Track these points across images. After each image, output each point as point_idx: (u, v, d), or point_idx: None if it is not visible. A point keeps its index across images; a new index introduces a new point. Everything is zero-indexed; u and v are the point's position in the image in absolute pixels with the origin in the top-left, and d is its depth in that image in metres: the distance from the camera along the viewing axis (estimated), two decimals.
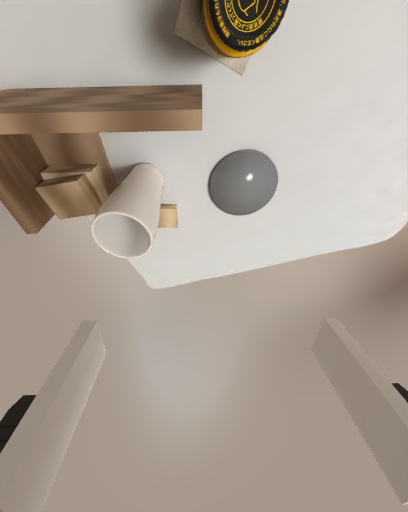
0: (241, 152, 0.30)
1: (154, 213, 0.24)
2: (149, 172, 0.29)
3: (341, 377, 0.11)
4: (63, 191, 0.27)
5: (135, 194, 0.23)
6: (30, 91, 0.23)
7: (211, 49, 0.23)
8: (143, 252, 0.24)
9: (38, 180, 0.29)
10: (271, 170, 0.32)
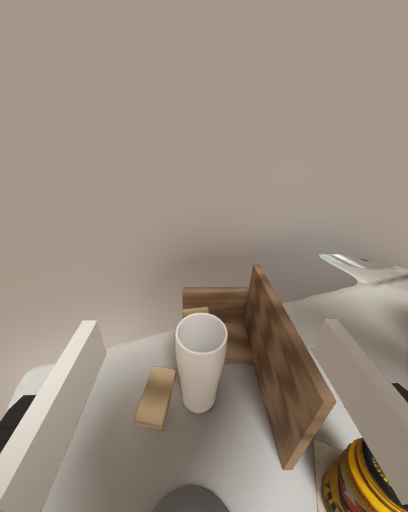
0: None
1: (210, 370, 0.25)
2: (215, 392, 0.30)
3: (340, 377, 0.11)
4: None
5: (224, 359, 0.27)
6: None
7: (320, 481, 0.25)
8: None
9: None
10: None
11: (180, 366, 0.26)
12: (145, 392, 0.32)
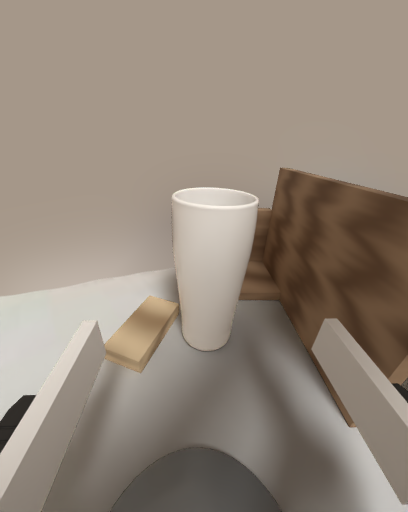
0: None
1: (230, 251, 0.14)
2: (232, 319, 0.20)
3: (341, 377, 0.11)
4: None
5: (251, 249, 0.17)
6: None
7: None
8: None
9: None
10: None
11: (179, 253, 0.15)
12: (129, 320, 0.22)
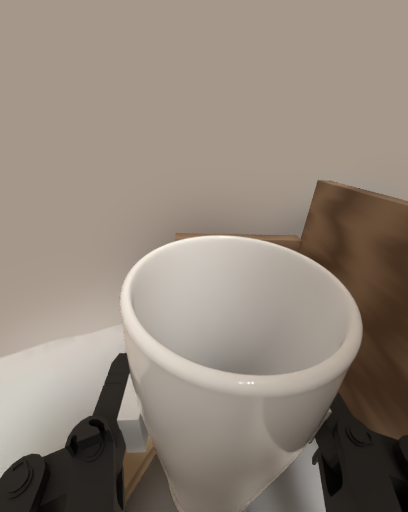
0: None
1: (285, 458, 0.05)
2: None
3: None
4: None
5: None
6: None
7: None
8: None
9: None
10: None
11: (146, 424, 0.06)
12: None
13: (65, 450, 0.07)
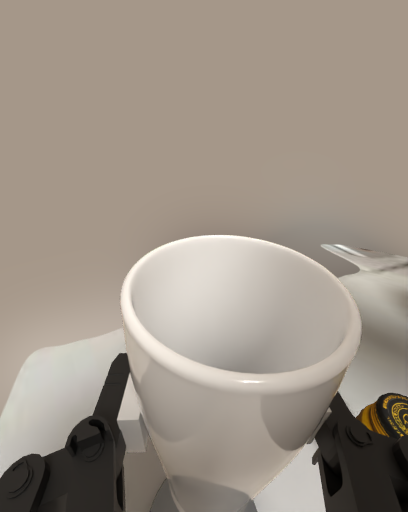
0: None
1: (285, 457, 0.05)
2: None
3: None
4: None
5: None
6: None
7: None
8: None
9: None
10: None
11: (146, 423, 0.06)
12: None
13: (65, 450, 0.07)
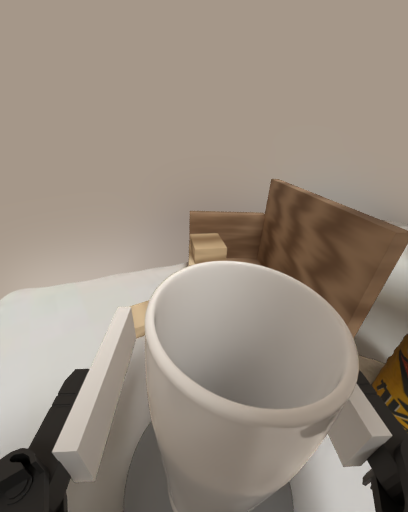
0: None
1: (289, 475, 0.06)
2: None
3: None
4: (216, 241, 0.33)
5: None
6: None
7: None
8: None
9: None
10: None
11: (161, 442, 0.07)
12: None
13: None
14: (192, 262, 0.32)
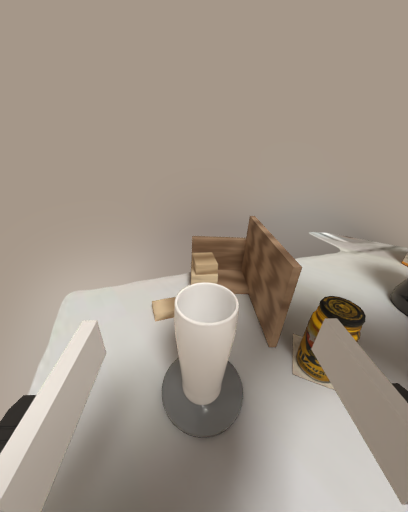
0: (239, 378, 0.29)
1: (218, 347, 0.20)
2: (222, 380, 0.26)
3: (340, 378, 0.11)
4: (210, 259, 0.48)
5: (234, 336, 0.22)
6: None
7: (295, 353, 0.34)
8: None
9: None
10: (225, 419, 0.25)
11: (180, 344, 0.21)
12: (170, 298, 0.42)
13: None
14: (194, 273, 0.46)
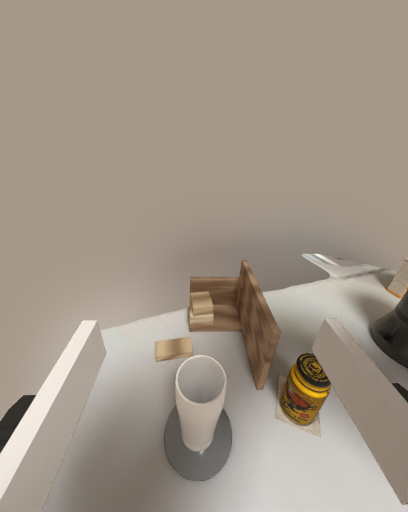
0: (229, 423, 0.35)
1: (209, 418, 0.25)
2: (214, 431, 0.31)
3: (340, 377, 0.11)
4: (207, 299, 0.53)
5: (223, 403, 0.27)
6: None
7: (279, 395, 0.40)
8: (181, 393, 0.25)
9: None
10: (216, 464, 0.30)
11: (180, 412, 0.26)
12: (171, 340, 0.48)
13: None
14: (191, 314, 0.52)
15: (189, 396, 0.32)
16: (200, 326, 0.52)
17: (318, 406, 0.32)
